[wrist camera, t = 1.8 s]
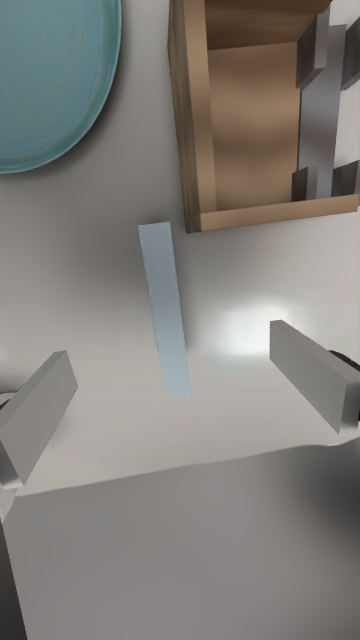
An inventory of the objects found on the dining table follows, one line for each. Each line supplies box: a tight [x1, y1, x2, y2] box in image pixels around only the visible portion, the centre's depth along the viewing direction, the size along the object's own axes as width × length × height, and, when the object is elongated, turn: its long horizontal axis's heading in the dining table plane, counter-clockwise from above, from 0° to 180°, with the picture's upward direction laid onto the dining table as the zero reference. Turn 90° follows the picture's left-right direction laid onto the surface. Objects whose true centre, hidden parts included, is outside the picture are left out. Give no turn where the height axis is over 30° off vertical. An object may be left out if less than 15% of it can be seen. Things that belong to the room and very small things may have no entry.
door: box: [138, 222, 191, 397], centre depth 25 cm, size 16×2×9 cm, turn 7°
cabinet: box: [167, 0, 360, 233], centre depth 20 cm, size 16×18×10 cm
